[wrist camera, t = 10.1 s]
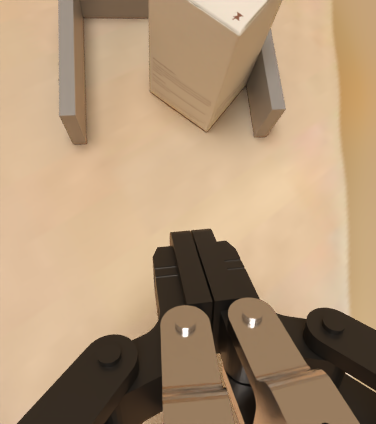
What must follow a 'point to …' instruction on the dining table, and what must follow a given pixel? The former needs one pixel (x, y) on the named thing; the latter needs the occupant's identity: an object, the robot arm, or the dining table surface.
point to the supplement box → (205, 52)
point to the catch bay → (138, 8)
